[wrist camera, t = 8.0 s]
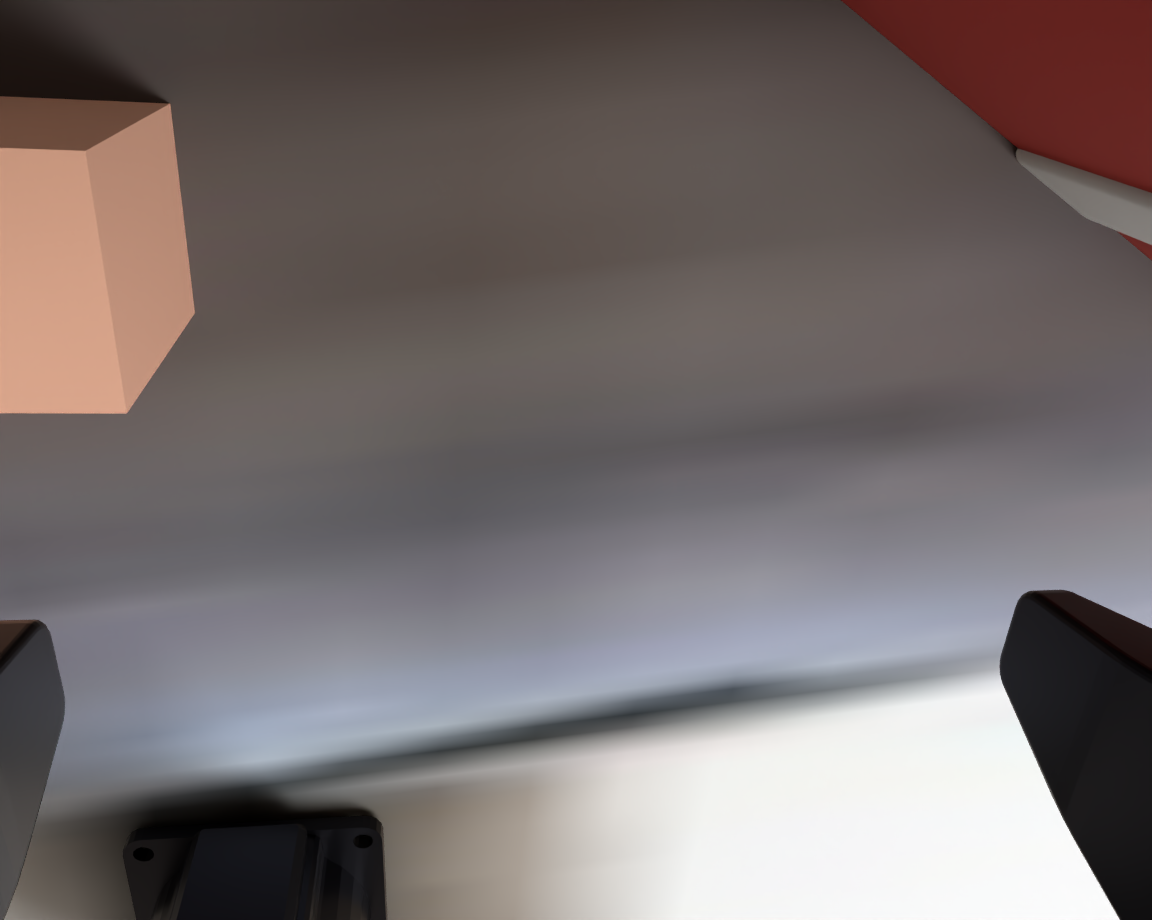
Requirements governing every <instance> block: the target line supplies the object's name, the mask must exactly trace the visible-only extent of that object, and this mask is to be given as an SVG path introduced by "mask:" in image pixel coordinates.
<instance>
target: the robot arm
mask: <svg viewBox="0 0 1152 920" xmlns="http://www.w3.org/2000/svg"><path fill="white" fill-rule="evenodd" d="M1000 675H1001V680H1002V683H1003V686H1004V688H1005V690H1006V693H1007V695H1008V697H1009V699H1010V702H1011V704H1012V706H1013V709H1014V711H1015V713H1016V715H1017V718H1018V720H1019V722H1020V724H1021V727H1022V729H1023V731H1024V733H1025V736H1026V738H1027V740H1028V742H1029V745H1030V747H1031V749H1032V751H1033V754H1034V756H1035V758H1036V761H1037V763H1038V765H1039V767H1040V770H1041V772H1042V774H1043V776H1044V779H1045V781H1046V783H1047V785H1048V788H1049V790H1050V792H1051V794H1052V797H1053V799H1054V801H1055V803H1056V805H1057V807H1058V809H1059V811H1060V813H1061V815H1062V817H1063V820H1064V821H1065V823H1066V825H1067V827H1068V829H1069V831H1070V833H1071V834H1072V836H1073V838H1074V840H1075V842H1076V844H1077V845H1078V847H1079V849H1080V851H1081V853H1082V854H1083V856H1084V858H1085V860H1086V861H1087V863H1088V865H1089V867H1090V868H1091V870H1092V872H1093V874H1094V875H1095V877H1096V879H1097V881H1098V882H1099V884H1100V886H1101V888H1102V889H1103V891H1104V893H1105V895H1106V896H1107V898H1108V900H1109V902H1110V903H1111V905H1112V907H1113V909H1114V911H1115V912H1116V914H1117V916H1118V918H1119V919H1120V920H1152V628H1149V627H1147V626H1145V625H1143V624H1141V623H1138V622H1136V621H1134V620H1132V619H1130V618H1128V617H1125V616H1123V615H1121V614H1119V613H1117V612H1114V611H1112V610H1110V609H1108V608H1106V607H1103V606H1101V605H1099V604H1097V603H1095V602H1092V601H1090V600H1088V599H1086V598H1084V597H1081V596H1079V595H1077V594H1075V593H1073V592H1070V591H1066V590H1041V591H1029V592H1027V593H1025V594H1023V595H1022V596H1021V598H1020V599H1019V600H1018V602H1017V605H1016V607H1015V611H1014V614H1013V617H1012V621H1011V624H1010V627H1009V631H1008V634H1007V637H1006V641H1005V644H1004V647H1003V650H1002V654H1001V658H1000ZM64 714H65V696H64V691H63V686H62V682H61V678H60V673H59V669H58V664H57V660H56V656H55V651H54V647H53V642H52V638H51V634H50V632H49V630H48V628H47V626H46V625H45V624H44V623H42V622H41V621H39V620H4V621H0V920H4V918H5V915H6V913H7V910H8V908H9V905H10V902H11V900H12V897H13V895H14V892H15V889H16V887H17V884H18V881H19V877H20V874H21V871H22V868H23V864H24V861H25V858H26V855H27V851H28V847H29V844H30V840H31V837H32V833H33V829H34V826H35V822H36V819H37V815H38V811H39V808H40V804H41V801H42V797H43V793H44V790H45V786H46V783H47V779H48V775H49V772H50V768H51V765H52V761H53V757H54V754H55V750H56V747H57V743H58V739H59V736H60V732H61V729H62V725H63V721H64ZM362 834H365V835H369V836H365V837H364V836H359V835H362ZM142 847H146V848H149V849H143V848H142ZM123 858H124V863H125V868H126V872H127V877H128V882H129V887H130V891H131V896H132V901H133V906H134V910H135V915H136V920H387V901H386V879H385V858H384V836H383V827H382V824H381V822H380V821H379V820H377V819H376V818H373V817H371V816H351V817H333V818H315V819H297V820H279V821H261V822H243V823H225V824H207V825H189V826H172V827H154V828H142V829H137V830H136V831H134V832H132V833H131V834H130V835H129V837H128V838H127V841H126V844H125V847H124V850H123Z"/></svg>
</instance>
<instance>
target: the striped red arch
mask: <svg viewBox="0 0 1152 920" xmlns="http://www.w3.org/2000/svg"><path fill="white" fill-rule="evenodd" d="M841 1H843V2H844V3H845V4H846V5H847V6H849V7H850V8H851V9H852V10H853V11H854V12H856V13H857V14H858V15H859V16H860V17H862V18H863V19H864V20H865V21H866V22H868V23H869V24H870V25H871V26H872V27H874V28H875V29H876V30H877V31H878V32H880V33H881V34H882V35H883V36H884V37H886V38H887V39H888V40H889V41H890V42H891V43H893V44H894V45H895V46H896V47H897V48H899V49H900V50H901V51H902V52H903V53H905V54H906V55H907V56H908V57H909V58H911V59H912V60H913V61H914V62H915V63H917V64H918V65H919V66H920V67H921V68H923V69H924V70H925V71H926V72H927V73H929V74H930V75H931V76H932V77H933V78H934V79H936V80H937V81H938V82H939V83H940V84H942V85H943V86H944V87H945V88H946V89H948V90H949V91H950V92H951V93H952V94H954V95H955V96H956V97H957V98H958V99H960V100H961V101H962V102H963V103H964V104H966V105H967V106H968V107H969V108H970V109H972V110H973V111H974V112H975V113H976V114H977V115H979V116H980V117H981V118H982V119H983V120H985V121H986V122H987V123H988V124H989V125H991V126H992V127H993V128H994V129H995V130H997V131H998V132H999V133H1000V134H1001V135H1003V136H1004V137H1005V138H1006V139H1007V140H1009V141H1010V142H1011V143H1012V144H1013V145H1014V146H1016V147H1017V148H1018V149H1017V151H1016V159H1017V161H1018V162H1019V163H1020V164H1021V165H1022V166H1023V167H1024V168H1026V169H1027V170H1028V171H1029V172H1030V173H1032V174H1033V175H1034V176H1035V177H1036V178H1038V179H1039V180H1040V181H1041V182H1042V183H1044V184H1045V185H1046V186H1047V187H1048V188H1050V189H1051V190H1052V191H1053V192H1054V193H1056V194H1057V195H1058V196H1059V197H1061V198H1062V199H1063V200H1064V201H1065V202H1067V203H1068V204H1069V205H1070V206H1071V207H1073V208H1074V209H1075V210H1076V211H1077V212H1079V213H1080V214H1081V215H1082V216H1083V217H1085V218H1087V219H1089V220H1091V221H1094V222H1096V223H1099V224H1101V225H1104V226H1106V227H1109V228H1111V229H1114V230H1116V231H1117V232H1118V233H1120V234H1121V235H1122V236H1123V237H1124V238H1126V239H1127V240H1128V241H1129V242H1130V243H1132V244H1133V245H1134V246H1135V247H1136V248H1137V249H1139V250H1140V251H1141V252H1142V253H1143V254H1145V255H1146V256H1147V257H1148V258H1149V259H1151V260H1152V0H841Z"/></svg>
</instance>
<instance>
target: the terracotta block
mask: <svg viewBox="0 0 1152 920" xmlns="http://www.w3.org/2000/svg"><path fill="white" fill-rule="evenodd" d="M194 314H195V311H194V302H193V294H192V285H191V277H190V268H189V260H188V251H187V243H186V234H185V226H184V217H183V209H182V201H181V192H180V184H179V175H178V167H177V158H176V150H175V141H174V133H173V124H172V116H171V107H170V104H168V103H145V102H121V101H98V100H75V99H51V98H28V97H5V96H0V413H127V412H128V411H129V409H130V408H131V407H132V405H133V404H134V402H135V401H136V399H137V398H138V396H139V395H140V393H141V392H142V390H143V389H144V387H145V386H146V384H147V383H148V381H149V380H150V379H151V377H152V376H153V374H154V373H155V371H156V370H157V368H158V367H159V365H160V364H161V362H162V361H163V359H164V358H165V356H166V355H167V353H168V352H169V350H170V349H171V348H172V346H173V345H174V343H175V342H176V340H177V339H178V337H179V336H180V334H181V333H182V331H183V330H184V328H185V327H186V325H187V324H188V322H189V321H190V319H191V318H192V317H193V315H194Z"/></svg>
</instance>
